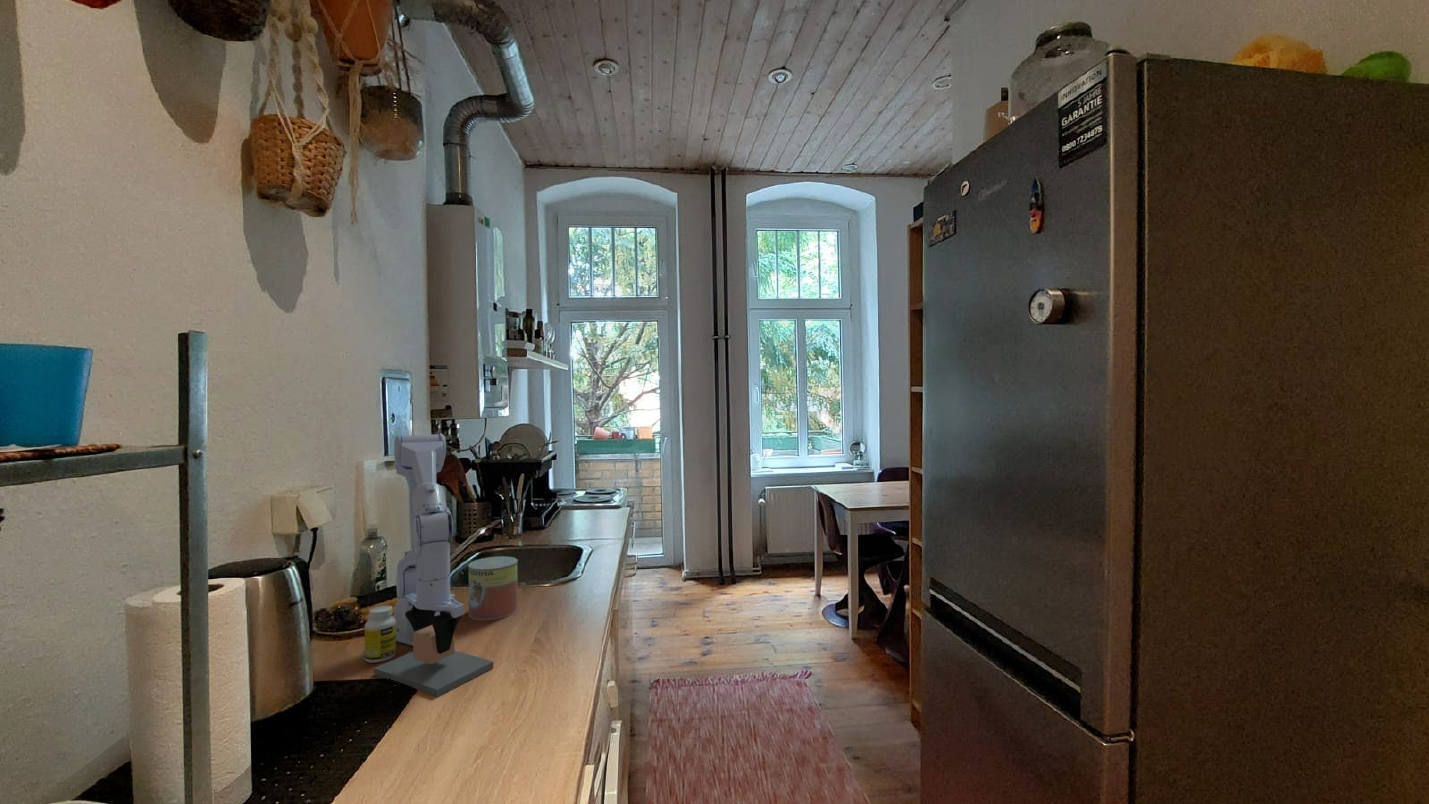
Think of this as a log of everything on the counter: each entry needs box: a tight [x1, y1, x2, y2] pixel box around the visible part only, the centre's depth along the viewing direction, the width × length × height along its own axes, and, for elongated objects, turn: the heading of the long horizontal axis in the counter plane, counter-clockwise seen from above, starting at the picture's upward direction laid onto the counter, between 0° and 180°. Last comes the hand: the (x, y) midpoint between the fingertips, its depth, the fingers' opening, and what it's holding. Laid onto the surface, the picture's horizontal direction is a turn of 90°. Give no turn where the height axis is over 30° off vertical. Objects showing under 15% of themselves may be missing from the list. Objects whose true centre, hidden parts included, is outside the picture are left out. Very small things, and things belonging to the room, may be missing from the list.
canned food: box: [467, 555, 519, 621], centre depth 139 cm, size 11×11×12 cm
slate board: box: [373, 649, 494, 697], centre depth 108 cm, size 18×12×1 cm, turn 62°
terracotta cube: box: [412, 625, 455, 664], centre depth 108 cm, size 5×5×5 cm
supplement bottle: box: [364, 604, 397, 664], centre depth 114 cm, size 5×5×10 cm
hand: (434, 648), depth 108 cm, fingers closed on terracotta cube, 5 cm apart
